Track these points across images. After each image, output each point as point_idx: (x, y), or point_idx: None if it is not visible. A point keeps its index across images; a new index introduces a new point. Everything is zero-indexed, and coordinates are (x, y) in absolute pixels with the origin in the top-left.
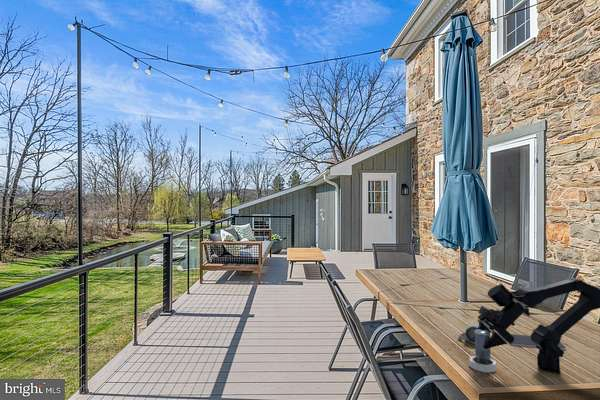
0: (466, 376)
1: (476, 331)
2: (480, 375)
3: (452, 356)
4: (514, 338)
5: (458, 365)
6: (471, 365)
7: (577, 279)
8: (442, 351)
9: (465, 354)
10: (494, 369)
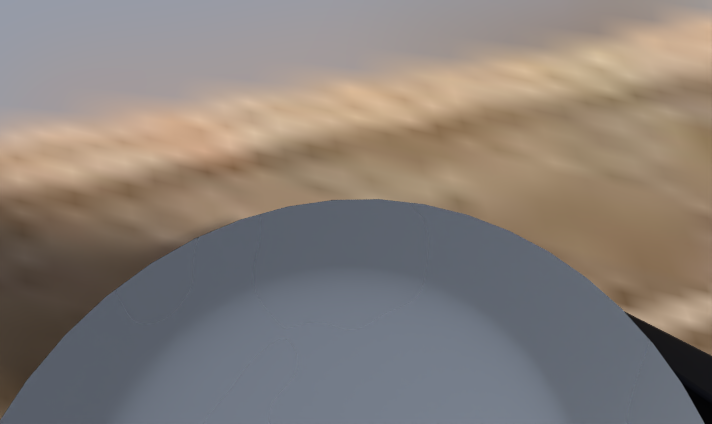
0: (4, 147)
1: (360, 275)
2: (45, 313)
3: (533, 131)
4: None
5: (296, 135)
6: None
7: None
8: (639, 62)
9: (639, 288)
10: None
